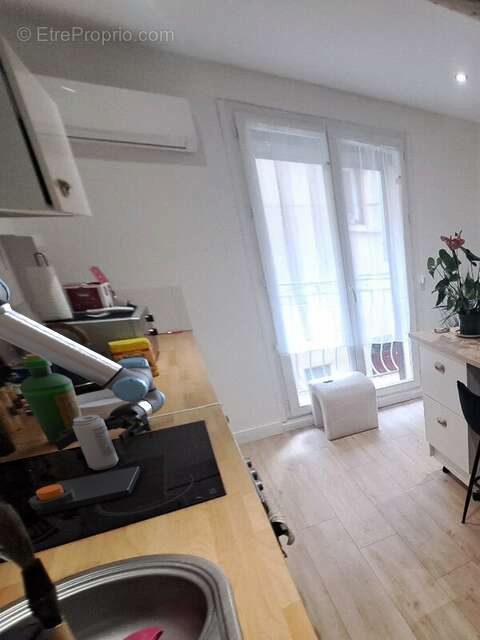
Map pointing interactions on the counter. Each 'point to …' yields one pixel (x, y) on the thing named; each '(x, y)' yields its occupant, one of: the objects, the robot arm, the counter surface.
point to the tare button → (49, 492)
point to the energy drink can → (95, 442)
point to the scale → (89, 490)
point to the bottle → (49, 397)
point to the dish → (99, 403)
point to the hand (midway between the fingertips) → (90, 442)
